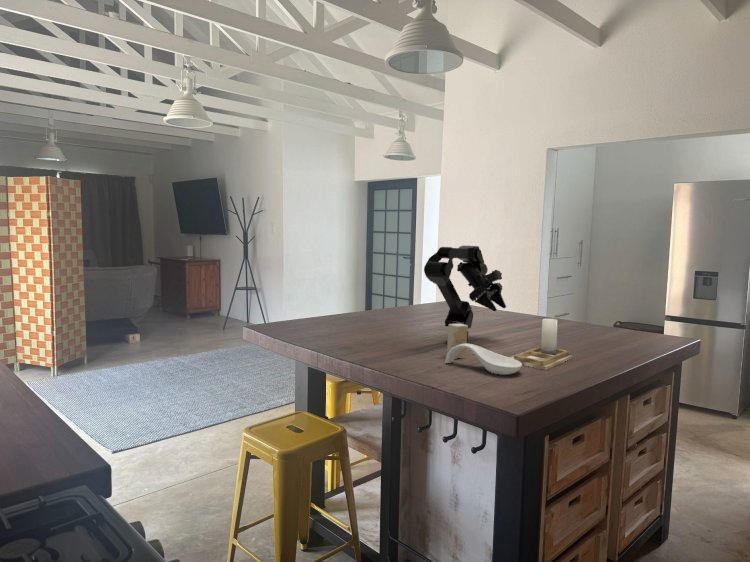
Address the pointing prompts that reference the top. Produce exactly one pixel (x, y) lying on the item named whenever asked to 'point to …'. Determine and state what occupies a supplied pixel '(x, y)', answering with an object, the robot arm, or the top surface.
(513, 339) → the top surface
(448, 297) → the robot arm
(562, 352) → the bay board
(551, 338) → the sleeve
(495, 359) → the spoon rest
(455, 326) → the box
